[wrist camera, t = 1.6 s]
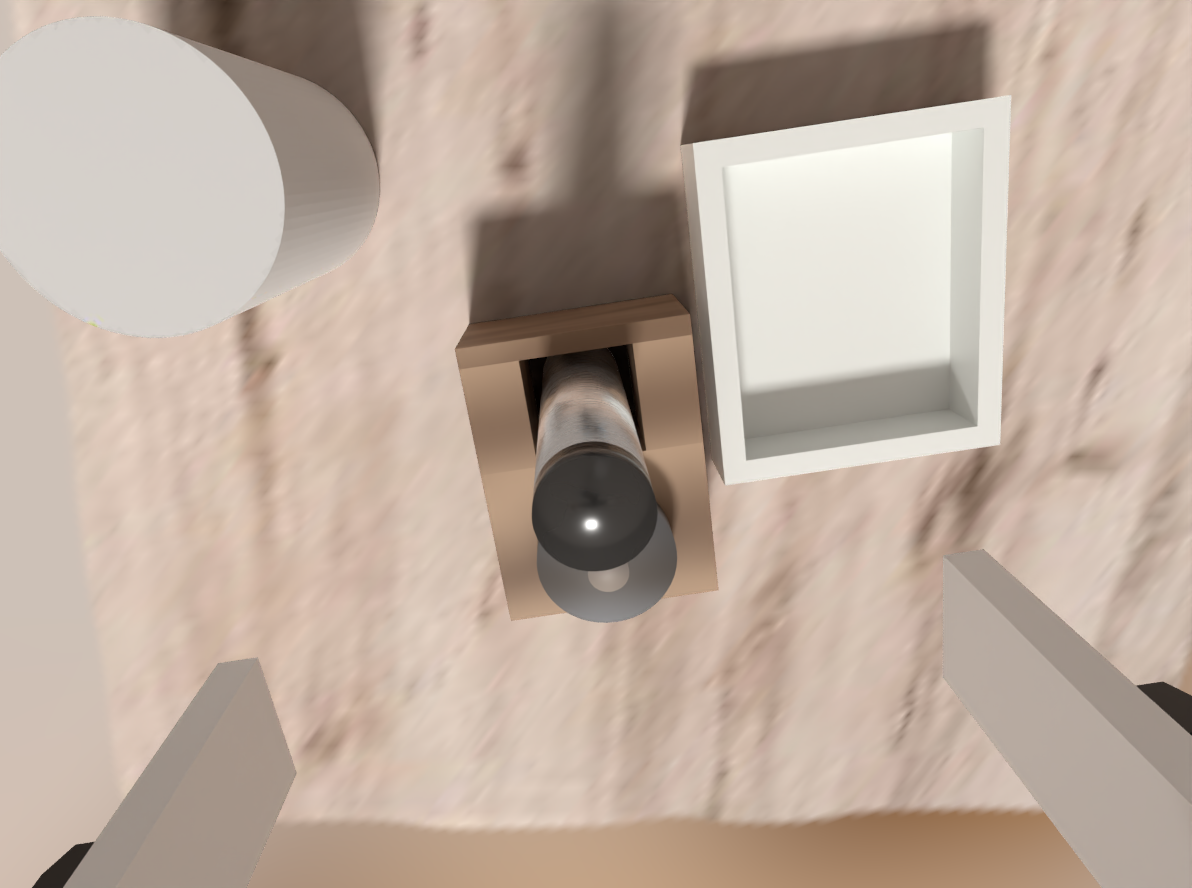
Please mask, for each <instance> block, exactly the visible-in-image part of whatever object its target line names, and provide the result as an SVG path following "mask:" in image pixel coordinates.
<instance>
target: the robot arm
mask: <svg viewBox="0 0 1192 888" xmlns="http://www.w3.org/2000/svg"><path fill="white" fill-rule="evenodd" d="M943 678H944V679H945V681H946V682H947V683H948V685H949V686H950V687H951V689H952V690H953V691H954V693H955V694H956V695H957V697H958V698H959V699H960V701H961V702H962V703H963V705H964V706H965V707H966V709H967V710H968V711H969V713H970V714H971V715H972V717H973V718H974V719H975V721H976V722H977V723H978V724H979V726H980V727H981V728H982V730H983V731H984V732H985V734H986V735H987V736H988V738H989V739H990V740H991V742H992V743H993V744H994V746H995V747H996V748H997V750H998V751H999V752H1000V754H1001V755H1002V756H1003V758H1004V759H1005V760H1006V762H1007V763H1008V764H1009V766H1010V767H1011V768H1012V769H1013V771H1014V772H1015V773H1016V775H1017V776H1018V777H1019V779H1020V780H1021V781H1022V783H1023V784H1024V785H1025V787H1026V788H1027V789H1028V791H1029V792H1030V793H1031V795H1032V796H1033V797H1034V799H1035V800H1036V801H1037V803H1038V804H1039V805H1040V807H1041V808H1042V809H1043V811H1044V812H1045V813H1046V814H1047V816H1048V817H1049V818H1050V820H1051V821H1052V822H1053V824H1054V825H1055V826H1056V828H1057V829H1058V830H1059V832H1060V833H1061V834H1062V836H1063V837H1064V838H1065V840H1066V841H1067V842H1068V844H1069V845H1070V846H1071V847H1072V849H1073V850H1074V852H1075V853H1076V854H1077V856H1078V857H1079V858H1080V860H1082V862H1083V863H1084V865H1085V866H1086V867H1087V869H1088V870H1089V871H1090V873H1091V874H1092V875H1093V877H1094V878H1095V879H1096V881H1097V882H1098V883H1099V885H1100V886H1101V887H1102V888H1192V696H1191V695H1189V694H1187V693H1185V692H1183V691H1181V690H1179V689H1177V688H1175V687H1173V686H1171V685H1169V684H1167V683H1165V682H1157V683H1151V684H1144V685H1137V686H1136V685H1134V684H1133V683H1132V682H1131V681H1130V680H1129V679H1128V678H1127V677H1126V676H1124V675H1123V674H1122V673H1121V672H1120V671H1119V670H1118V669H1117V668H1115V667H1114V666H1113V665H1112V664H1111V663H1110V662H1109V661H1108V660H1107V659H1105V658H1104V657H1103V656H1102V655H1101V654H1100V653H1099V652H1098V651H1096V650H1095V649H1094V648H1093V647H1092V646H1091V645H1090V644H1089V643H1088V642H1086V641H1085V640H1084V639H1083V638H1082V637H1081V636H1080V635H1079V634H1077V633H1076V632H1075V631H1074V630H1073V629H1072V628H1071V627H1070V626H1069V625H1067V624H1066V623H1065V622H1064V621H1063V620H1062V619H1061V618H1060V617H1059V616H1057V615H1056V614H1055V613H1054V612H1053V611H1052V610H1051V609H1050V608H1048V607H1047V606H1046V605H1045V604H1044V603H1043V602H1042V601H1041V600H1040V599H1038V598H1037V597H1036V596H1035V595H1034V594H1033V593H1032V592H1031V591H1029V590H1028V589H1027V588H1026V587H1025V586H1024V585H1023V584H1022V583H1021V582H1019V581H1018V580H1017V579H1016V578H1015V577H1014V576H1013V575H1012V574H1010V573H1009V572H1008V571H1007V570H1006V569H1005V568H1004V567H1003V566H1002V565H1000V564H999V563H998V562H997V561H996V560H995V559H994V558H993V557H991V556H990V555H989V554H988V553H987V552H986V551H985V550H984V549H982V550H975V551H969V552H962V553H955V554H949V555H943ZM295 776H296V770H295V767H294V764H293V761H292V758H291V755H290V752H289V749H288V746H287V743H286V740H285V737H284V734H283V731H282V728H281V725H280V722H279V719H278V716H277V713H276V710H275V707H274V704H273V701H272V698H271V695H270V692H269V689H268V686H267V683H266V680H265V677H264V674H263V671H262V668H261V665H260V662H259V659H258V657H257V658H251V659H244V660H237V661H231V662H224V663H218V664H217V666H216V667H215V668H214V670H213V671H212V673H211V674H210V676H209V677H208V679H207V680H206V681H205V683H204V684H203V686H202V687H201V689H200V690H199V692H198V693H197V695H196V696H195V697H194V699H193V700H192V702H191V703H190V705H189V706H188V708H187V709H186V710H185V712H184V713H183V715H182V716H181V718H180V719H179V721H178V722H177V723H176V725H175V726H174V728H173V729H172V731H171V732H170V734H169V735H168V737H167V738H166V739H165V741H164V742H163V744H162V745H161V747H160V748H159V750H158V751H157V752H156V754H155V755H154V757H153V758H152V760H151V761H150V763H149V764H148V765H147V767H146V768H145V770H144V771H143V773H142V774H141V776H140V777H139V779H138V780H137V781H136V783H135V784H134V786H133V787H132V789H131V790H130V792H129V793H128V794H127V796H126V797H125V799H124V800H123V802H122V803H121V805H120V806H119V808H118V809H117V810H116V812H115V813H114V815H113V816H112V818H111V819H110V821H109V822H108V823H107V825H106V827H105V828H104V829H103V831H102V832H101V834H100V835H99V836H98V838H97V839H96V841H95V842H90V843H84V844H77V845H75V846H74V847H72V848H71V849H70V850H69V851H68V852H67V853H66V854H65V855H63V856H62V857H61V858H60V859H59V860H58V861H57V862H56V863H54V865H52V866H51V867H50V868H49V869H48V870H47V871H46V872H44V873H43V874H42V875H41V876H40V878H39V879H38V880H37V882H36V883H35V885H34V886H33V887H32V888H247V886H248V884H249V881H250V879H251V876H252V874H253V872H254V870H255V867H256V865H257V863H258V861H259V858H260V856H261V854H262V851H263V849H264V847H265V845H266V842H267V840H268V838H269V835H270V833H271V831H272V828H273V826H274V824H275V822H276V819H277V817H278V815H279V812H280V810H281V808H282V805H283V803H284V801H285V799H286V796H287V794H288V792H289V789H290V787H291V785H292V782H293V780H294V778H295Z"/></svg>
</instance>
